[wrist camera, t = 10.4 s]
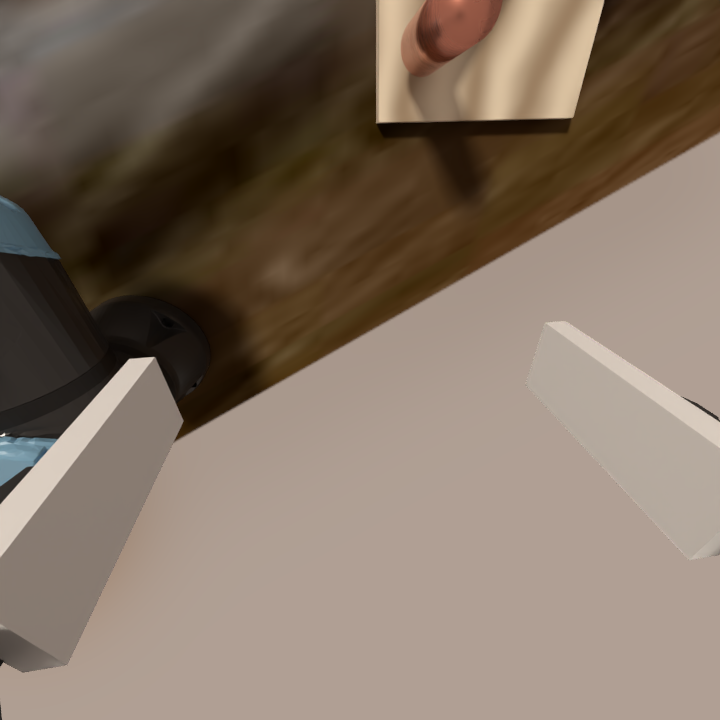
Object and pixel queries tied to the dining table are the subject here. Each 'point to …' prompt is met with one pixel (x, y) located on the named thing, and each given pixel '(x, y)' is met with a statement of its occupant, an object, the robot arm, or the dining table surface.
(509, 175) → the dining table surface
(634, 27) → the dining table surface
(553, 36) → the tapered cream board
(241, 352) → the dining table surface
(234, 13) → the dining table surface
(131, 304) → the robot arm
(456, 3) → the lever
